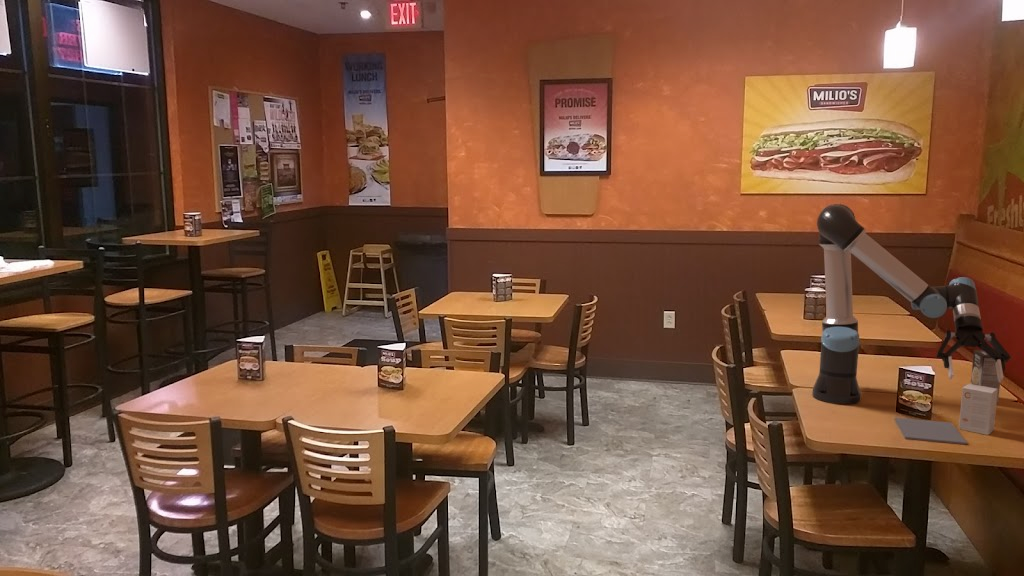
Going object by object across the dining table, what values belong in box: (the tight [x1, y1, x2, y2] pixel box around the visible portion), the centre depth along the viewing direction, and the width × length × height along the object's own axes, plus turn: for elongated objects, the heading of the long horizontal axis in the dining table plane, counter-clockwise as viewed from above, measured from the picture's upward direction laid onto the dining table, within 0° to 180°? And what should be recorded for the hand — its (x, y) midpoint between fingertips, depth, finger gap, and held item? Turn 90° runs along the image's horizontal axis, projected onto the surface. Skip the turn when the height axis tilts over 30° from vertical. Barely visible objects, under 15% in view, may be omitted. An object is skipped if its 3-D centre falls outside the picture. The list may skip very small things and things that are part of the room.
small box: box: [958, 383, 998, 436], centre depth 236 cm, size 8×6×13 cm
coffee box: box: [970, 349, 1001, 404], centre depth 266 cm, size 9×6×16 cm
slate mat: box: [893, 417, 968, 445], centre depth 235 cm, size 16×18×1 cm
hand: (976, 378), depth 243 cm, fingers open, 13 cm apart
